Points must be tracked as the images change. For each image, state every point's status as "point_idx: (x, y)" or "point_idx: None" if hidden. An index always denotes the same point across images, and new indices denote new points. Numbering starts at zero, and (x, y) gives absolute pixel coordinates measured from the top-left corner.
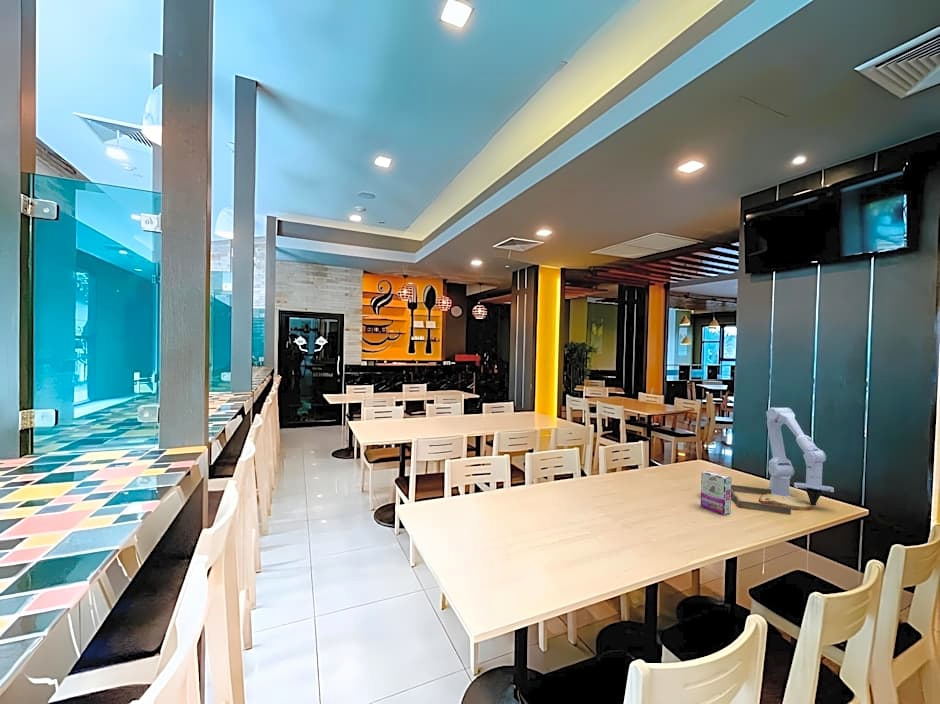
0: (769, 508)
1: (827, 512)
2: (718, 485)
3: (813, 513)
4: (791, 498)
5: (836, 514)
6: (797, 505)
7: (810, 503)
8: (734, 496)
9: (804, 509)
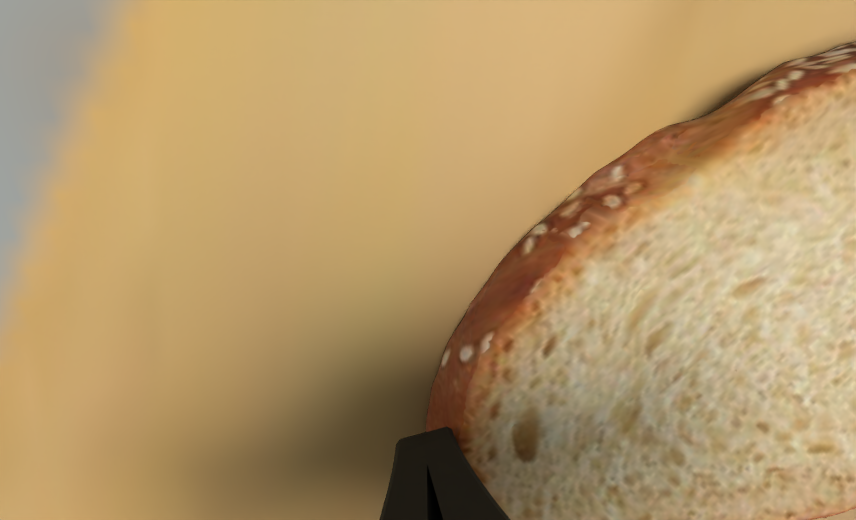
0: None
1: (224, 342)
2: None
3: (462, 97)
4: (749, 495)
5: (81, 329)
6: (752, 177)
7: None
8: None
9: (592, 190)
